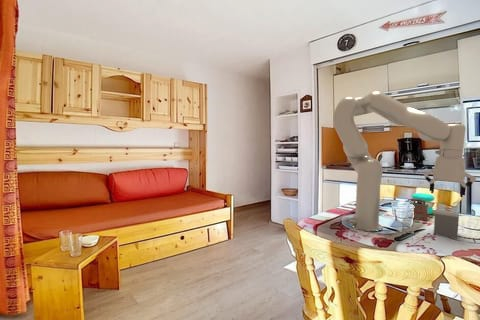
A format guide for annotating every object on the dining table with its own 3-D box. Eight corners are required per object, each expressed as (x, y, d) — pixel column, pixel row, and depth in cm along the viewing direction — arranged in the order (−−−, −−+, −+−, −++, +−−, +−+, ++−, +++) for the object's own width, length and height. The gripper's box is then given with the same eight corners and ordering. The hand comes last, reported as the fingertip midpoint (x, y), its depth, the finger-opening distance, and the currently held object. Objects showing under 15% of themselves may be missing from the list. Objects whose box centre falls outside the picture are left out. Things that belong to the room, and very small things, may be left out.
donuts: (414, 195, 143) (410, 192, 152) (413, 213, 143) (410, 209, 153) (436, 197, 139) (432, 193, 148) (435, 215, 139) (430, 211, 148)
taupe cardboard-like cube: (457, 238, 107) (458, 217, 106) (433, 234, 111) (435, 213, 111) (457, 233, 112) (458, 213, 112) (435, 229, 117) (436, 210, 117)
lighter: (427, 218, 134) (428, 199, 133) (427, 220, 131) (428, 200, 130) (408, 216, 138) (409, 197, 138) (408, 217, 136) (409, 198, 135)
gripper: (424, 152, 112) (420, 192, 113) (479, 155, 101) (474, 199, 102) (426, 152, 118) (422, 190, 119) (478, 155, 107) (473, 197, 108)
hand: (446, 194), depth 111 cm, fingers open, 9 cm apart
